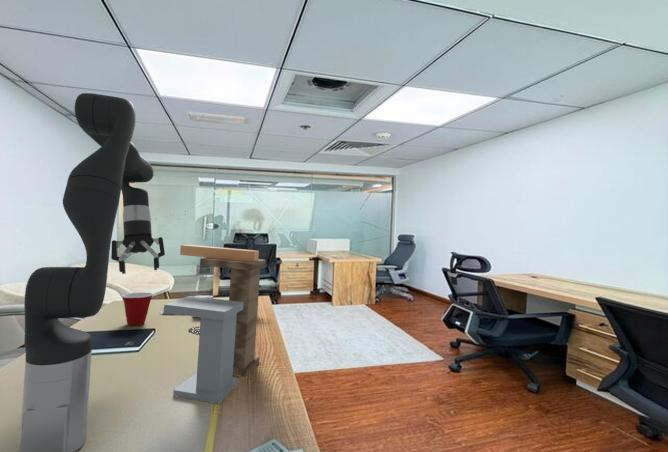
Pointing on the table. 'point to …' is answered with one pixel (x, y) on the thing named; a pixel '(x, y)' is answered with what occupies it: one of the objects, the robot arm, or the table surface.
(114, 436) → the table surface
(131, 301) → the plastic cup
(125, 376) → the table surface
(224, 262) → the tall stand
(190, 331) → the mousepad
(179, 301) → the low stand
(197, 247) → the bar
